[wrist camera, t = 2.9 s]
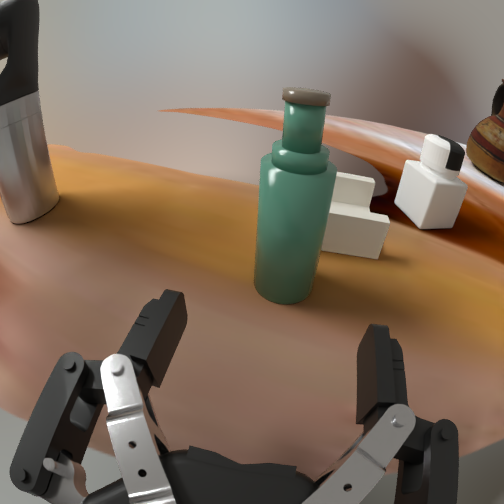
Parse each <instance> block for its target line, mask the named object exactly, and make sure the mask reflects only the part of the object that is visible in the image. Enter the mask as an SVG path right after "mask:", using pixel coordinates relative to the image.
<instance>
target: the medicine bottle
mask: <svg viewBox="0 0 504 504" xmlns="http://www.w3.org/2000/svg"><path fill="white" fill-rule="evenodd" d="M464 155H465V151H464V149H463V148H462V147H461V146H460V145H459V144H458V143H456V142H454V141H452V140H450V139H448V138H445V137H442V136H440V135H436V134H429V135H427V136H425V140H424V144H423V148H422V152H421V156H420V160H421V162H420V161H412V160H406V162H405V166H404V170H403V174H402V177H401V181H400V185H399V188H398V192H397V195H396V199H395V204H396V205H397V206H398V207H399V208H400V209H401V210H402V211H403V212H404V213H405V214H406V215H407V216H408V217H409V218H410V219H411V220H412V221H413V222H414V223H415V225H416V226H417V227H418V228H419V229H439V228H452V227H453V225H454V222H455V220H456V217H457V215H458V212H459V210H460V207H461V205H462V202H463V199H464V196H465V194H466V191H467V188H468V186H467V185H466V184H465V183H464V182H463V181H461V180H460V179H459V178H457V177H456V176H458V175H459V172H460V169H461V166H462V162H463V159H464Z"/></svg>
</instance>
